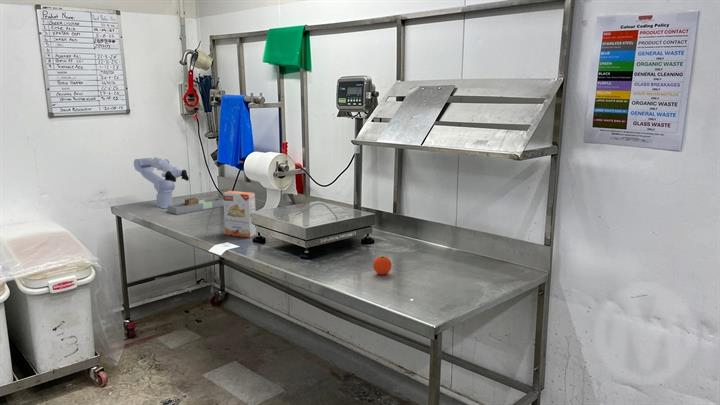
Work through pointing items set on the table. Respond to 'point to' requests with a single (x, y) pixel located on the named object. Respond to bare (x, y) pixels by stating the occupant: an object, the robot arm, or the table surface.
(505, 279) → the table surface
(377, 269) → the clementine
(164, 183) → the robot arm
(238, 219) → the cracker box
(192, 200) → the walnut block
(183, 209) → the trap channel
